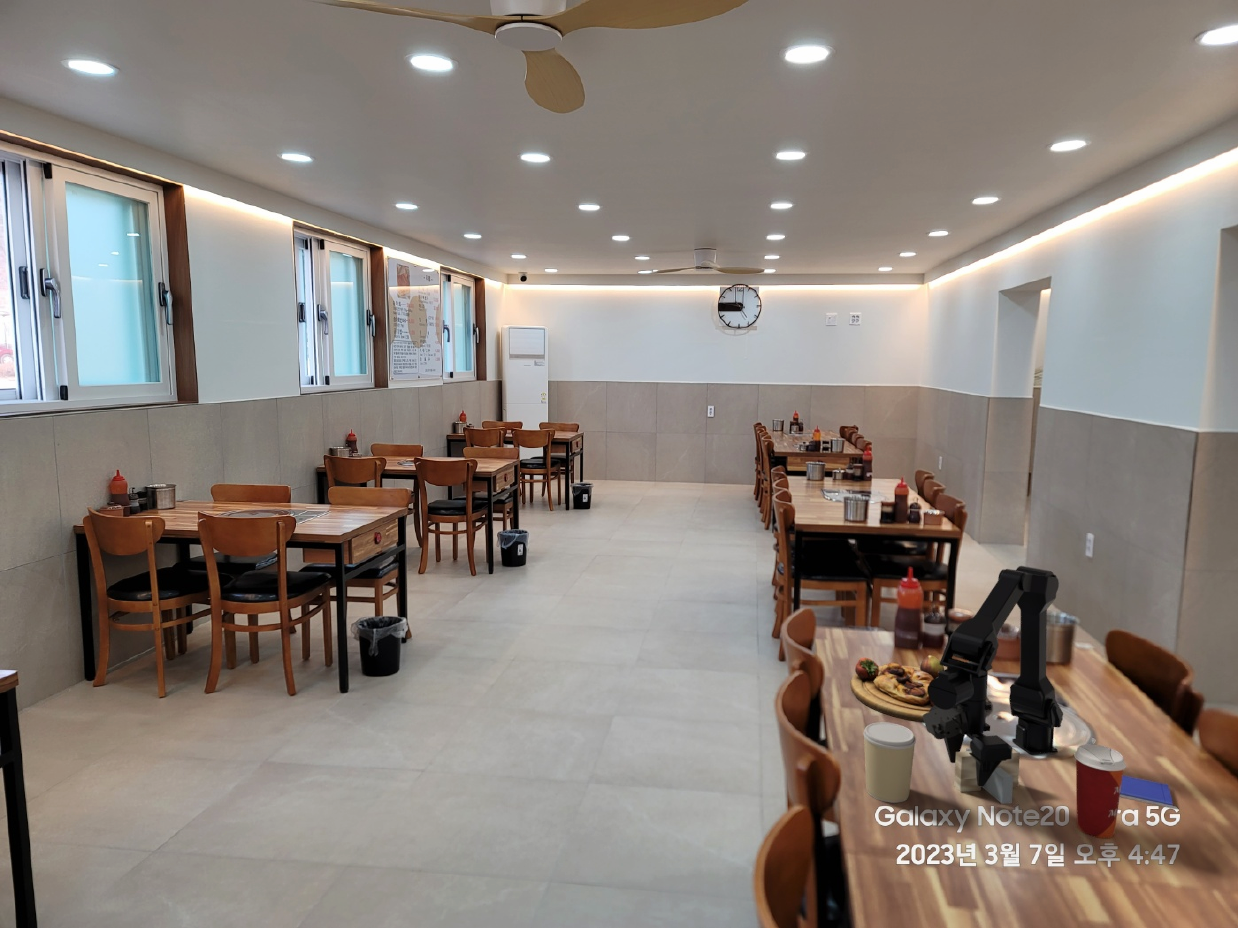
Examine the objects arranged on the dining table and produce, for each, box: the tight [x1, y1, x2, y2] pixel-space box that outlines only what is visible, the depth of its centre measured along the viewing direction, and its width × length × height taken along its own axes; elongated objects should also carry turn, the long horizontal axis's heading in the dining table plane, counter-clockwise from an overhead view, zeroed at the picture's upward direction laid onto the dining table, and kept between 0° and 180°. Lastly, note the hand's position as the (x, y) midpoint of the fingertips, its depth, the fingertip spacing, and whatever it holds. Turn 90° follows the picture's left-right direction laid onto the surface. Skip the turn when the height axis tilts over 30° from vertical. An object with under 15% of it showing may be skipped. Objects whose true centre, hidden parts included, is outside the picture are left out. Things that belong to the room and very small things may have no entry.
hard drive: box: [1120, 774, 1174, 809], centre depth 152 cm, size 2×8×12 cm
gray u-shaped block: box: [965, 747, 1014, 805], centre depth 152 cm, size 2×12×5 cm, turn 8°
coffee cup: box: [863, 721, 917, 804], centre depth 150 cm, size 9×9×12 cm
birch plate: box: [953, 747, 1021, 793], centre depth 152 cm, size 12×2×7 cm, turn 98°
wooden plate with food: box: [849, 655, 989, 723], centre depth 197 cm, size 32×32×8 cm
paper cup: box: [1073, 743, 1127, 839], centre depth 138 cm, size 8×8×14 cm
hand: (966, 773), depth 152 cm, fingers open, 9 cm apart
